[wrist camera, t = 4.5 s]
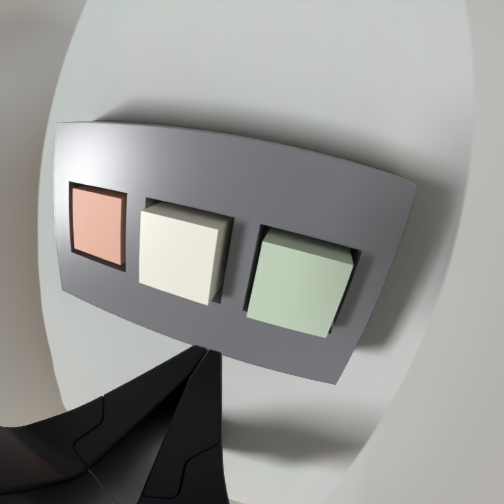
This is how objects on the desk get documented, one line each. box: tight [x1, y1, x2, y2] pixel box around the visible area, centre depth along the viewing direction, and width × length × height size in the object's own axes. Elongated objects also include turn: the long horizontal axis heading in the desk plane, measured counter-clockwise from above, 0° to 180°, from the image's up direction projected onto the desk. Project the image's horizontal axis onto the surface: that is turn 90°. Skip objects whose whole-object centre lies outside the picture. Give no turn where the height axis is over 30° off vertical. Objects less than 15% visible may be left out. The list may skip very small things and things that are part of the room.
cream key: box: [139, 201, 234, 305], centre depth 15 cm, size 4×4×2 cm
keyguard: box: [54, 121, 418, 385], centre depth 16 cm, size 12×20×4 cm, turn 80°
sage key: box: [247, 227, 353, 338], centre depth 14 cm, size 4×4×2 cm
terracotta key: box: [73, 185, 127, 265], centre depth 17 cm, size 4×4×2 cm
